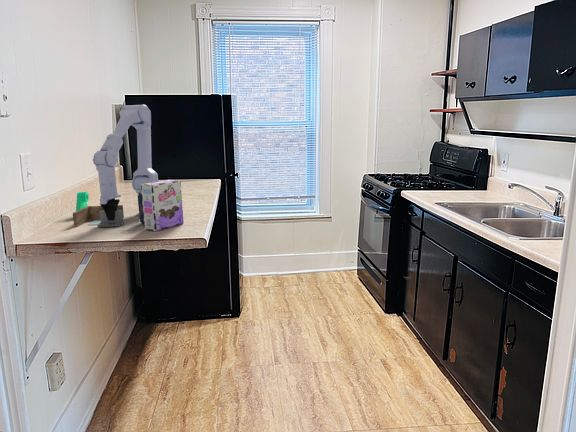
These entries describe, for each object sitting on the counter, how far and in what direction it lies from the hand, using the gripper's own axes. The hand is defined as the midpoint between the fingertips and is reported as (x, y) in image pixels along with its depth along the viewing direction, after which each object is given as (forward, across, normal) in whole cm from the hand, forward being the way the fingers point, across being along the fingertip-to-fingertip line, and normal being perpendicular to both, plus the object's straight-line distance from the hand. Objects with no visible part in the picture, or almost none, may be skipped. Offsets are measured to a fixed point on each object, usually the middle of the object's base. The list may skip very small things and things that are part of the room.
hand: (111, 219), depth 166 cm
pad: (+2, +5, +7) cm, 9 cm away
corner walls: (+2, +6, +6) cm, 9 cm away
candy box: (+2, -6, -20) cm, 22 cm away
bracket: (+2, -2, 0) cm, 2 cm away
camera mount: (+2, +20, +15) cm, 25 cm away
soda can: (+2, +1, -14) cm, 14 cm away
